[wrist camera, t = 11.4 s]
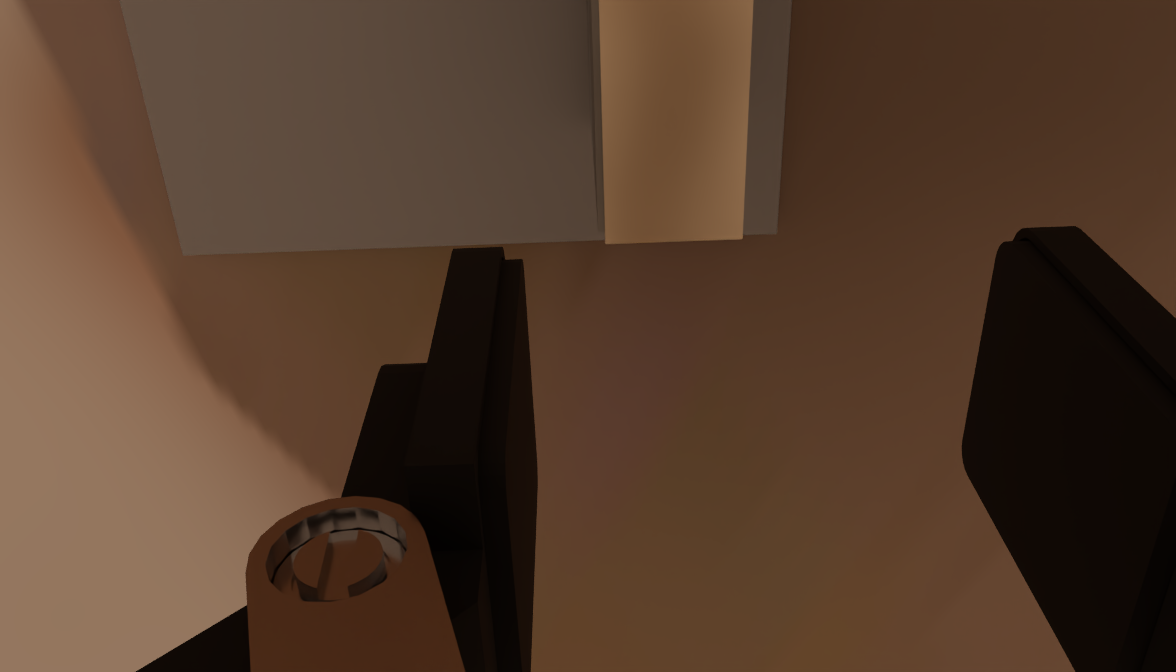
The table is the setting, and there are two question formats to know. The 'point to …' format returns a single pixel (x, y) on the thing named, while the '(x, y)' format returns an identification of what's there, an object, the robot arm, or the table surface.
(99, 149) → the table surface
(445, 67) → the rubber mat
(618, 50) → the birch tile
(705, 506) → the table surface
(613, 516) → the table surface
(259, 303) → the table surface
